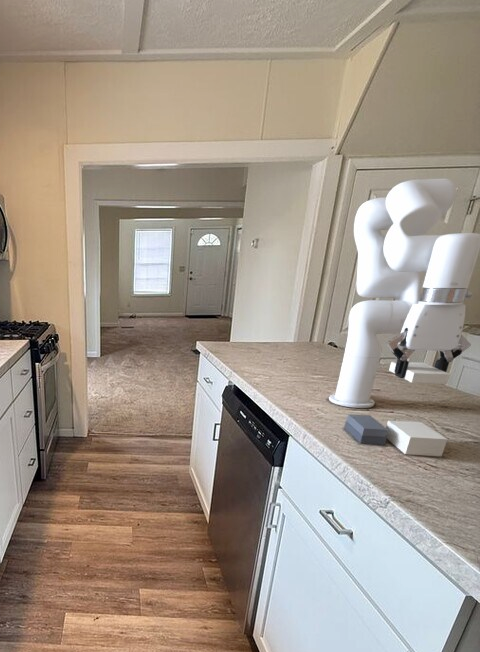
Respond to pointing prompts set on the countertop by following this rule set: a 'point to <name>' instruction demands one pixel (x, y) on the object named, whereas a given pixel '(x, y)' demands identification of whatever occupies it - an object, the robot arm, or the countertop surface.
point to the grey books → (366, 429)
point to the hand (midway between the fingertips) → (418, 376)
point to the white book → (423, 373)
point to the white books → (415, 438)
